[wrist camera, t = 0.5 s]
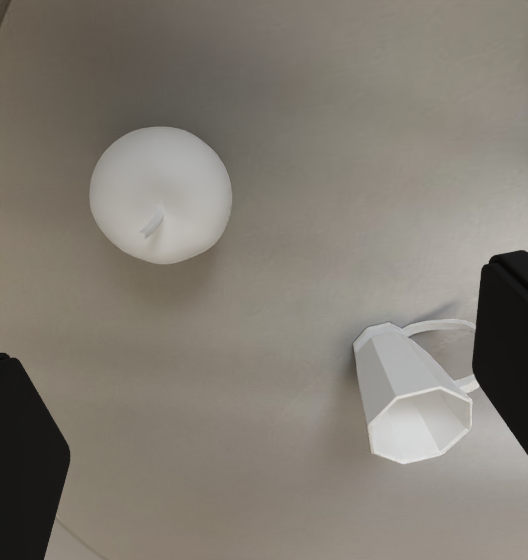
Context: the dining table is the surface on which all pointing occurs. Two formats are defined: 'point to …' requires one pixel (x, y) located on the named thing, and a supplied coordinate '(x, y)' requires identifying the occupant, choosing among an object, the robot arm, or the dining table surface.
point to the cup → (410, 393)
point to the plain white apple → (161, 195)
